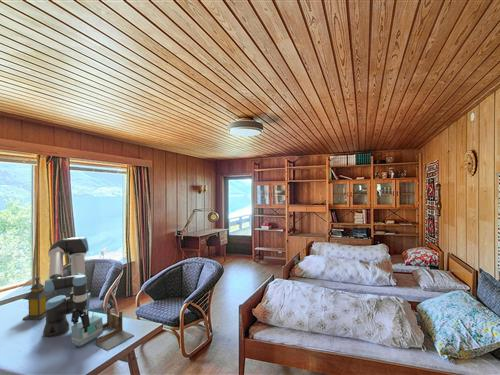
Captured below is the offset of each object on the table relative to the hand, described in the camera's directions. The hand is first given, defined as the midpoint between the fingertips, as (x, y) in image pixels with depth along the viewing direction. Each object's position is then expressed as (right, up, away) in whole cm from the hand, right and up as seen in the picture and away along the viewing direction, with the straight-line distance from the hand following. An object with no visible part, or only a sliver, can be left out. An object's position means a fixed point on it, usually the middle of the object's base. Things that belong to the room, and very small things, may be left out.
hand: (80, 335), depth 177 cm
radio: (+3, -5, +4) cm, 7 cm away
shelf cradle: (+8, -6, +14) cm, 17 cm away
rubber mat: (+19, -7, +6) cm, 21 cm away
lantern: (-57, -6, +39) cm, 70 cm away
